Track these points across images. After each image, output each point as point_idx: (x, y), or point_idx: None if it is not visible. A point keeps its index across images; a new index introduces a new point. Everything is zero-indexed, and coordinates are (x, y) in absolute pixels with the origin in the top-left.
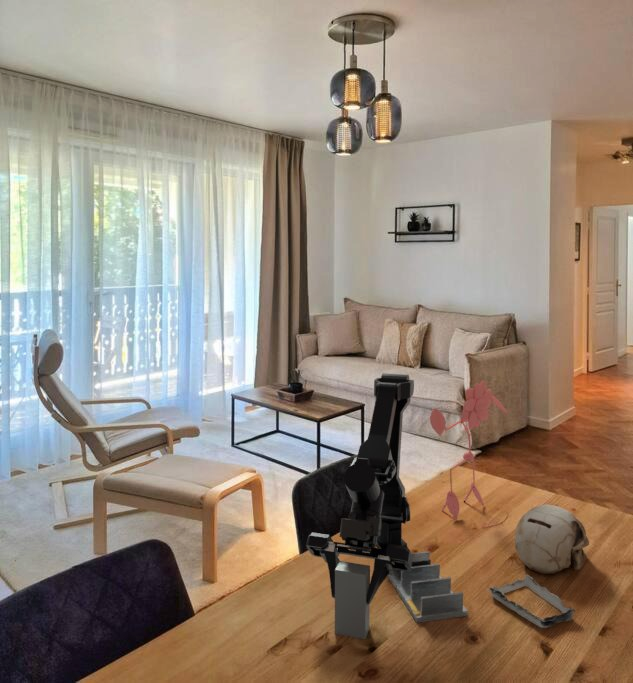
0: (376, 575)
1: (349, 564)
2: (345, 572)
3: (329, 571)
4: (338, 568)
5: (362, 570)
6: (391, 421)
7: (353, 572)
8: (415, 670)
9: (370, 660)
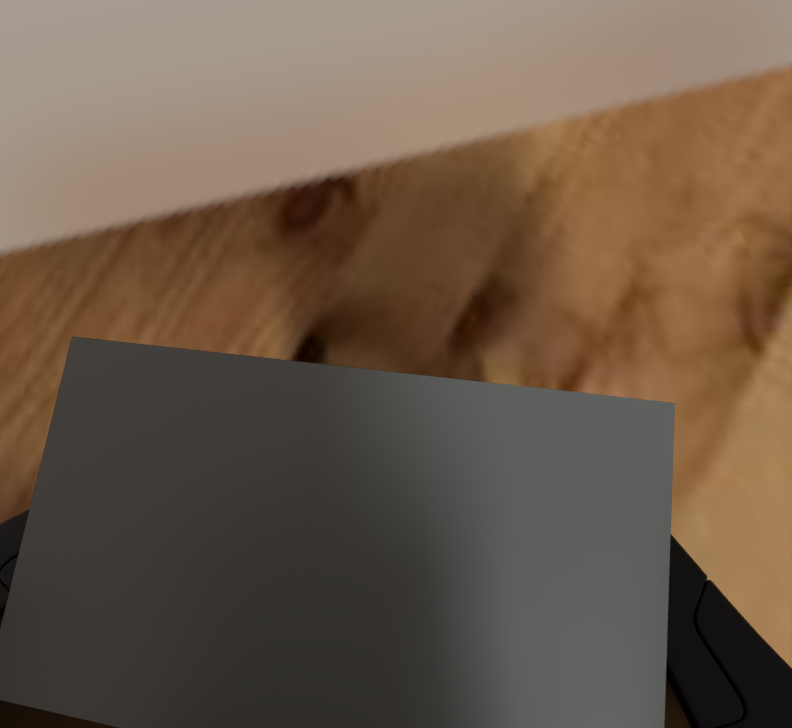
0: (5, 552)
1: (399, 687)
2: (442, 379)
3: (752, 634)
4: (610, 471)
5: (127, 476)
6: None
7: (287, 376)
8: (132, 258)
9: (311, 276)
